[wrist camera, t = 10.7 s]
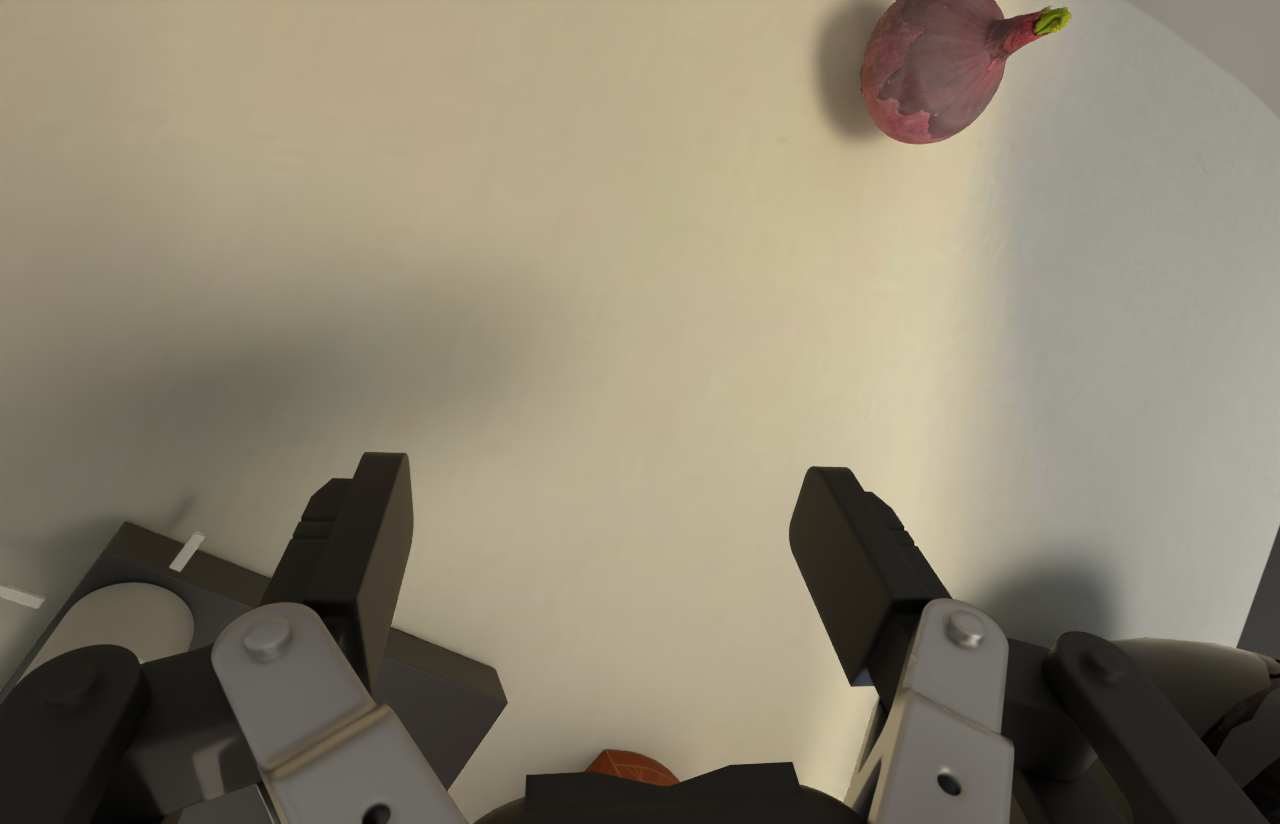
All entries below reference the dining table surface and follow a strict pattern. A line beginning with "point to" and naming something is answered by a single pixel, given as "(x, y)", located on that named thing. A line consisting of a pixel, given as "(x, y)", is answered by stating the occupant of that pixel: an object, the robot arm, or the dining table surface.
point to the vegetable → (942, 63)
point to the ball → (1213, 713)
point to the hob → (221, 592)
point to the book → (633, 768)
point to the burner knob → (123, 623)
